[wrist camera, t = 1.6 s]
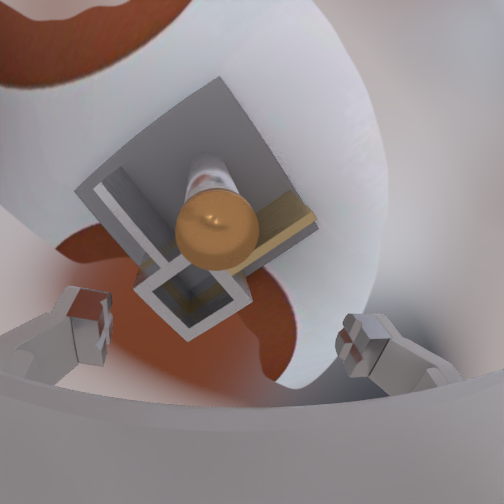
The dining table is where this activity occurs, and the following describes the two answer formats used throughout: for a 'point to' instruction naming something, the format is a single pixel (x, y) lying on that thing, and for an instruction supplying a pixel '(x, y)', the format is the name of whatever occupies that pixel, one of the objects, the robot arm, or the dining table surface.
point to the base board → (178, 164)
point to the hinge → (172, 261)
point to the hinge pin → (214, 217)
